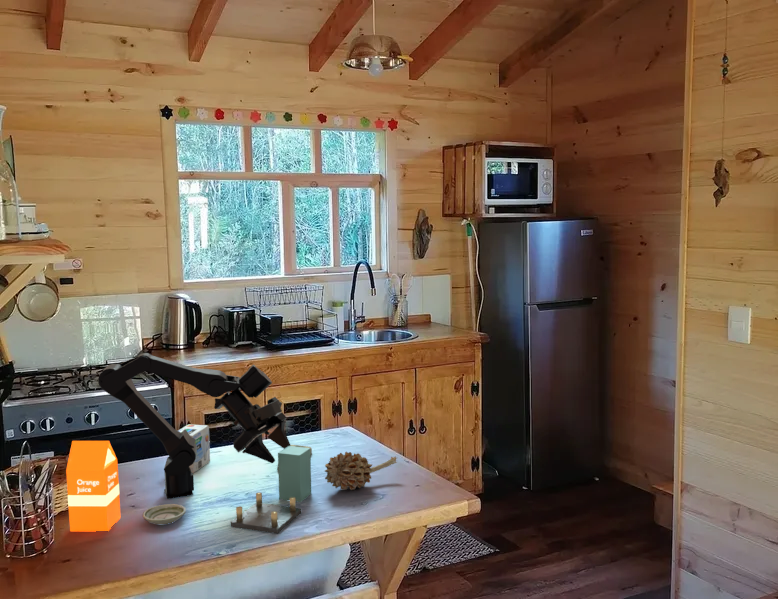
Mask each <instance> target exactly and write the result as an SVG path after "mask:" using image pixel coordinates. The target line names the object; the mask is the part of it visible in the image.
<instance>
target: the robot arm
mask: <svg viewBox="0 0 778 599" xmlns="http://www.w3.org/2000/svg"><path fill="white" fill-rule="evenodd" d="M143 372H146V373H147V372H148V373H151V374H154V375H157V376H161V377H163V378H166V379H170V380H173V381H177V382H181V383H184V384H188V385H190V386H192V387H194V388H195V389H197V390H199V391H200V392H202V393H204V394H205V395H208V396H209V397H212V398H214V406H213V408H214V409H215V410H220V409H221V408H223V407H224V409H225V410H226V411H227V412H228V413H229V415H230V416H231V417H232V418H233V419H234V422H233V425H235V426H239V425H240V427H241V428H242V430H243V431H242V432H241V433H240V435H238V437H237V438H236V439H235V440H234V441H233V448H234V449H235V451H236V452H237V453H238V454H239V453H241V452H242V454H248V455H251V456H253V457H257V458H259V459H261V460H264V461H265V462H268V463H270V464H273V463H274V462H276V459H275V457H274V456H273V454H272V453H271V451H270V450H269V448H267V446H266V445H265V444H264V442H263V441H264V440H263V434H265V435H268V436H267V438H268V439H269V440H271V441H272V442H273V443H275V444H276V445H278V446H279V447H281V448H282V449H285V448H286V447H288V446H291V445H292V444H291V443H290V441H289V438H288V436H287V433H286V430H285V428H286V423H287V421H286V420H287V418H288V417H287V416H286V415H285V413H283V410H282V404H283V402H281V401H280V400H279V399H278V398H277V397H275V396H274V397H271V398H270V399H268V400H267V404H264V405H263V406H260V405H259V404H257V403H256V404H253V403H252V402H251V401H250V400H249V399H248V398H252V399H253V398H255V399H257V398H258V397H259V395H261V394H262V393H263V392H264V391H265V390H266V389H267V388H268V387H269V386H271V385H272V384H273V381H272V380H271V379H270V377H269V376H268V375H267V374H266V373H265V372H264V371H263V370H261V369H260V368H258V367H257V365H255V364H252V365H251V366H250V367H249V368H248V369H247V370H246V372H244V373H243V374H242V375H241V376H236V375H229V374H226V373H225V372H224V371H222V370H217V369H211V368H195V367H192V366H189V365H184V364H181V363H178V362H175V361H172V360H168V359H164V358H162V357H159V356H154V355H152V354H151V353H149V352H143V353H140V354H139V355H137V356H136V357H133V358H131V359H128V360H125V361H123V362H122V363H112V364H109V365H107V366H105V367H104V369H103V370H102V371H101V372H100V374H99V375H98V380H97V381H98V382H97V384H98V386H99V387H100V389H102V390H103V391H104V392H106V393H107V394H109V395H110V396H111V397H113V398H115V399H117V400H118V401H120V402H122V403H124V404H125V405H126V407H127V408H129V410H130V411H132V412H133V414H134V415H135V416H137V418H138V420H140V421H141V422H142V423H143V424H144V426H146V427H147V428H148V430H150V431H151V432H152V433H153V435H155V437H156V438H157V439H159V441H160V442H161V443H162V445H163V447H164V449H165V451H166V453H167V455H168V456H167V457H166V460H165V461H166V462H165V465H164V468H163V471H164V494H165V497H166V498H165V499H167V500H172V499H179V498H183V497H191V496H193V495H194V491H195V483H194V482H195V481H194V473H192V472H191V469H190V467H189V466H191V465H192V464H193V463H194V461H195V459H196V453H197V445H196V443H195V439H194V438H192V437H191V436H190V435H189V434H188V432H187V431H186V429H184V430H183V432H182V433H181V432H179V431H178V430H177V429H175V428H174V427H173V426H172V425H171V424H170V423H169V422H168V421H167V420H166V419H165V418H164V417H163V416H162V415H161V413H160V412H158V411H157V409H156V408H155V407H154V406H153V405H152V404H151V403H150V401H148V400H147V398H145V397H144V395H142V394H141V392H139V391H138V389H137V388H136V386H135V383H134V381H133V378H134V377H136V376H138V375H140V374H142V373H143ZM247 397H248V398H247Z"/></svg>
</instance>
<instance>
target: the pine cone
mask: <svg viewBox="0 0 778 599" xmlns="http://www.w3.org/2000/svg"><path fill="white" fill-rule="evenodd" d="M394 464H398V462H397V456H393V457H392V456H391V457H390V459H388V460H387V461H385V462H383V463H381V464H377V465H376V466H373V464H372V463H371V464H370V463H369V461H368V459H367V458H366V457H364V456H362V455H361V454H360V453H359V452H357V453H354V454H352V452H350V451H349V452H348V451H345V452H344V454H343V453H342V452H340V453H339V454H337V455H336V456H335V455H334V456H333V457H329V460H328V463H325V465H324V467H325V468H326V469H325V470H324V472H325V473H326V476H325V477H324V478H325V480H327V481H326V483H327V484H328V483H330V484H332V485H331V486H332V487H335V489H338V487H340V490H341V491H346V490H347V489H349V490H351V491H354V490H355V489H357V488H359V489H360V488H362V487H365V486H366V483H370V482H371V479H372V475H371V474H372V473H374V472H377V471H380V470H382V469H385V468H387V467H389V466H392V465H394Z"/></svg>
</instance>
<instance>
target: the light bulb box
mask: <svg viewBox="0 0 778 599" xmlns="http://www.w3.org/2000/svg"><path fill="white" fill-rule="evenodd" d="M184 429H186V431H187V432H188V434H189V435H190V436H191V437H192V438H194V439H195V443H196V445H197V453H196V459H195V461H194V463H193V464H192V465H191V466H189V467H190V469H191V472H192V473H193V474H195V473H196V472H197V471H198V470H200V469H201V468H203V467H204V466H206V465H207V464H208V463H210V462H211V448H210V426H209V425H206V424H187V425H185V426H183V427H182V428H180V429H178V430H177V431H179V432H181V433H182V432H183V430H184ZM209 461H210V462H209ZM205 464H206V465H205Z"/></svg>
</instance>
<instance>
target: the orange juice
mask: <svg viewBox="0 0 778 599" xmlns="http://www.w3.org/2000/svg"><path fill="white" fill-rule="evenodd" d="M68 455H69V456H68V459H67V460H68V461H67V465H66V469H65V474H66V485H67V486H66V487H67V488H66V489H67V506H68V518H69V531H70V532H76V533H77V532H86V533H87V532H89V533H90V532H93V533H94V532H96V531H108V532H109V531H110V530H111V529H112V528H113V527H114V526H115V525H116V524H117V523H118V522H119V520H121V518H122V517H121V503H120V501H121V500H120V497H121V496H120V493H121V492H120V482H119V467H118V466H119V465H118V464H119V463H118V458H117V456H116V453H115V451H114V449H113V447H112V445H111V442H110V440H72V441H71V446H70V451H69V454H68ZM115 523H116V524H115ZM114 524H115V525H114ZM113 525H114V526H113ZM112 526H113V527H112ZM111 527H112V528H111Z"/></svg>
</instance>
